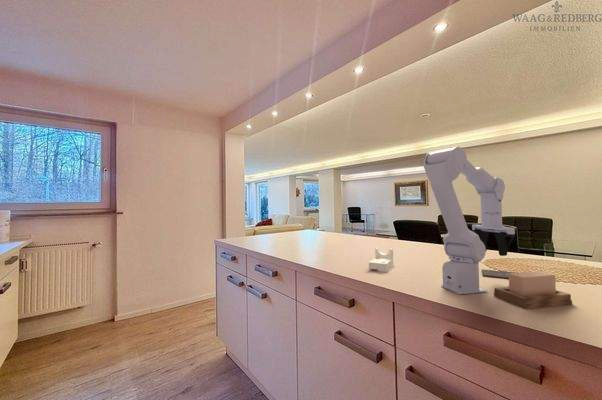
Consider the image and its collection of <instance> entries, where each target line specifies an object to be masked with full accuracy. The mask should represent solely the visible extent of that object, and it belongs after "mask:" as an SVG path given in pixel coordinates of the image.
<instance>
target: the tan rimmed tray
mask: <svg viewBox="0 0 602 400" xmlns="http://www.w3.org/2000/svg"><path fill="white" fill-rule="evenodd" d="M493 290H494V291H493V297H495V298H497V299H499V300H501V301H505V302H507V303H510V304H512V305H514V306H518V307H519V308H522V309H525V310H526V309H527V310H528V309H538V308H549V307H550V308H551V307H561V306H568V305H573V300H572V298H571V297H572V296H571V295H572V294H571V293H567V292H564V291H560V290H556V293H552V294H540V295H529V296H520V295H517V294H514V293H511V292H509V286H501V287H500V286H498V287H494V289H493Z"/></svg>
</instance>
